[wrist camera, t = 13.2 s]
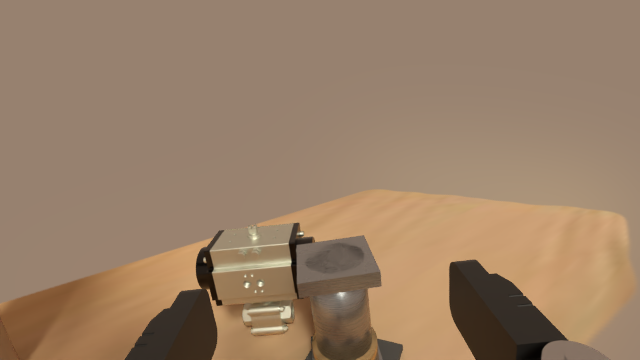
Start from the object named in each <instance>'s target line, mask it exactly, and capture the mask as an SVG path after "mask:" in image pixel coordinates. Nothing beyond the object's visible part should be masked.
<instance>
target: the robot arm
mask: <svg viewBox="0 0 640 360" xmlns="http://www.w3.org/2000/svg"><path fill="white" fill-rule="evenodd" d="M449 301H450V310H451V314H452V317H453V320H454V322H455V324H456V326H457V328H458V329H459V331H460V333H461V335H462V336H463V338H464V340H465V342H466V343H467V345H468V347H469V349H470V350H471V352H472V354H473V356H474V357H475V359H476V360H610V359H609V358H607V357H606V356H605V355H604V354H602V353H600V352H599V351H597V350H595V349H593V348H591V347H589V346H587V345H584V344H581V343H577V342H573V341H568V340H567V339H566V338H565V336H564V335H563V334H562V333H561V332H560V331H559V330H558V329H557V328H556V327H555V326H554V325H553V324H552V323H551V322H550V321H549V320H548V319H547V318H546V317H545V316H544V315H543V314H542V313H541V312H540V311H539V310H538V309H537V308H536V307H535V306H533V305H532V302H531V301H530V300H529V299H528V298H527V297H526V296H523V293H522V292H521V291H520V290H519V289H518V288H517V287H516V286H515V285H514V284H513V283H512V282H510V281H509V280H507V279H505V278H503V277H501V276H500V275H498V274H489V273H488V272H487V271H486V270H485V269H484V268H483V267H482V266H481V264H480V263H479V262H478V261H477V260H466V261H457V262H451V264H450V268H449ZM216 344H217V326H216V322H215V318H214V314H213V310H212V306H211V302H210V298H209V294H208V292H207V290H206V289H196V290H187V291H181V292H180V293H179V295H178V296H177V298H176V299H175V301H174V303H173V304H172V306H171V307H170V308H168V309H164V310H163V311H162V312H160V313H159V314H158V315H157V316H156V317H155V318H153V319H152V320H151V321H150V323H149V324H148V326H147V327H146V329H145V330H144V332H143V333H142V336H140V337H139V339H138V340H137V342H136V343H135V347H134V348H132V349H131V351H130V352H129V354H128V355H127V357H126V358H125V360H211V359H212V357H213V354H214V351H215V348H216ZM0 360H19V358H18V356H17V354H16V352H15V350H14V347H13V345H12V343H11V341H10V339H9V337H8V334H7V332H6V329H5V327H4V325H3V323H2V321H1V319H0Z"/></svg>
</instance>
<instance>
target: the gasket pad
mask: <svg viewBox="0 0 640 360" xmlns="http://www.w3.org/2000/svg"><path fill="white" fill-rule="evenodd" d="M377 343H378V347H379V350H380V353H381V356H382V359H383V360H400V356H401V353H402V350H403V346H402V345H401V344H397V343H393V342H389V341H384V340H380V339H377ZM305 360H312V349H311V351H310V353H309V354H308V356H307V357H306V359H305Z"/></svg>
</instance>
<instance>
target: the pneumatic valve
mask: <svg viewBox="0 0 640 360" xmlns="http://www.w3.org/2000/svg"><path fill="white" fill-rule="evenodd" d="M303 236H304V232H303V231H300V224H299V223H292V224H282V225H272V226H262V227H257V225H254V226H253V227H252V225H249V226H248V228H242V229H233V230H232V229H231V230H222V231H219V232H218V233H217V234H216V236H215V237H214V238H213V240H212V241H211V242H210V244H209V245H208V246H207V247H203V248H202V249H201V250H200V252H199V254H198V257H197V261H196V276H197V280H198V283H199V285H200V287H201V288H202V289H206V290H208V289H210V292H211V296H212V300H216V304H217V306H221V305H233V304H244V306H243V312H242V317H243V322H244V324H245V325H246V326H253V328H251V334H253V335H254V336H259V335H272V334H284V332H286V331H287V330H288V326H287V325H285V323H291V322H293V320H294V303H293V300H292V299H304V298H299V294H298V288H297V245H301V244H308V243H315V240H314V237H303ZM302 237H303V238H302Z"/></svg>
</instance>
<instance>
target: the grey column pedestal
mask: <svg viewBox="0 0 640 360" xmlns="http://www.w3.org/2000/svg"><path fill="white" fill-rule="evenodd" d="M379 286H381V274H380V270H379V268H378V265H377V263H376V261H375V259H374V257H373V255H372V252H371V250H370V248H369V246H368V244H367V241H366V239H365V237H364V236H357V237H350V238H343V239H336V240H329V241H322V242H315V243H308V244H301V245H297V288H298V294H299V298H306V297H310V303H311V309H312V316H313V322H314V329H315V334H314V336H313V337H311V346H312V360H383V359H382V356H381V353H380V350H379V347H378V343H377V336H376V333H375V331H374V329H373V328H372V327H371V320H370V309H369V299H368V288H373V287H379Z"/></svg>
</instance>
